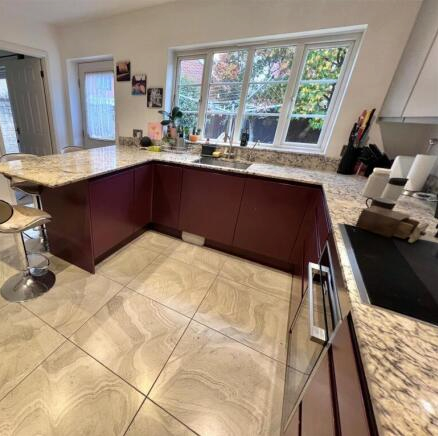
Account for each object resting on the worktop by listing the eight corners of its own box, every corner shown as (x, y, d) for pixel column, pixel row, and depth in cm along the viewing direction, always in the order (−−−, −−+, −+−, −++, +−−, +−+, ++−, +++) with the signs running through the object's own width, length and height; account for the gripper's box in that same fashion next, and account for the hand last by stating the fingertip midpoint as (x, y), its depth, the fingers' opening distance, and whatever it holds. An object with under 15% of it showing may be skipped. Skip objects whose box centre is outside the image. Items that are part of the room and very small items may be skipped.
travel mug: (392, 218, 119) (412, 180, 110) (376, 216, 121) (395, 178, 112) (385, 213, 124) (404, 177, 116) (370, 211, 126) (388, 175, 118)
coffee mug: (390, 223, 112) (400, 204, 108) (368, 220, 115) (378, 201, 110) (378, 214, 122) (387, 197, 118) (358, 212, 125) (366, 194, 120)
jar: (382, 200, 145) (396, 171, 137) (362, 197, 150) (374, 169, 142) (378, 196, 152) (391, 169, 145) (359, 193, 157) (371, 166, 150)
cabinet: (400, 232, 103) (410, 215, 100) (390, 238, 98) (400, 220, 95) (366, 221, 113) (374, 205, 110) (355, 226, 108) (362, 209, 104)
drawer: (424, 239, 97) (434, 224, 94) (416, 244, 92) (425, 229, 89) (385, 226, 107) (393, 213, 104) (376, 230, 102) (383, 216, 99)
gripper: (445, 176, 86) (411, 231, 96) (504, 185, 75) (460, 247, 85) (450, 174, 89) (417, 228, 99) (508, 183, 79) (465, 242, 89)
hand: (437, 237), depth 92 cm, fingers closed
